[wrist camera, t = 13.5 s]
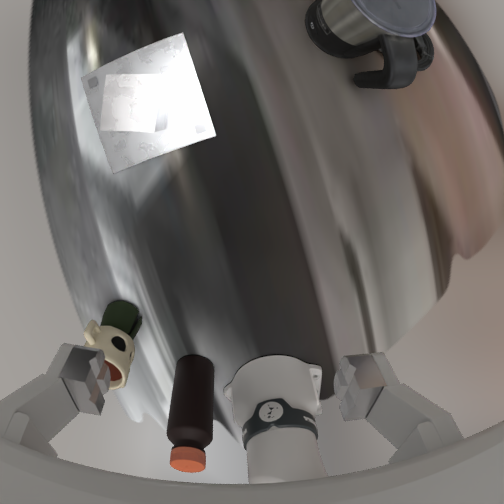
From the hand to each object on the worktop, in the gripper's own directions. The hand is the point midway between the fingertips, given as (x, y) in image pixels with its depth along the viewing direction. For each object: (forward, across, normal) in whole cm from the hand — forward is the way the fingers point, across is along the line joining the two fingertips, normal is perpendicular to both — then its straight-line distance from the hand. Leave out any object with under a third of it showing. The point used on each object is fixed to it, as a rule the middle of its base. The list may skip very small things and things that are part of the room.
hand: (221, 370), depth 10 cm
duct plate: (+31, +11, -9) cm, 34 cm away
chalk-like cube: (+31, +11, -9) cm, 34 cm away
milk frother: (+31, -17, -21) cm, 41 cm away
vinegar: (+31, +5, +34) cm, 46 cm away
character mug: (+31, +16, +23) cm, 42 cm away
